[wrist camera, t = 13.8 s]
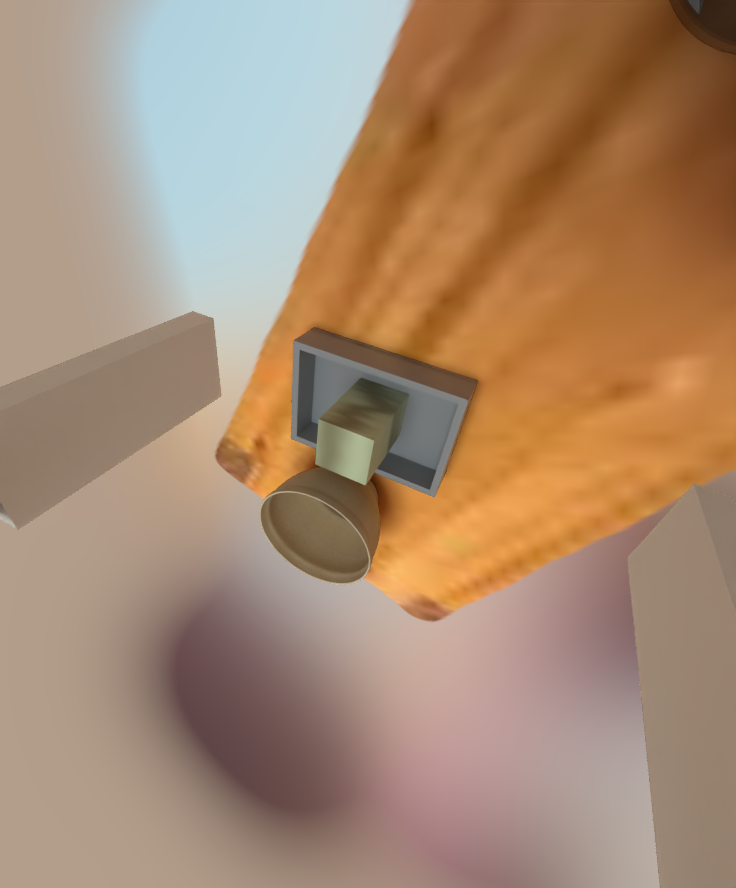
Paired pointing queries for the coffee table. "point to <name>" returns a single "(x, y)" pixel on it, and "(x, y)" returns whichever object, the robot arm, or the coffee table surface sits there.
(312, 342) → the bin
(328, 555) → the planter bowl
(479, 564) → the coffee table surface
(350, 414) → the olive block
